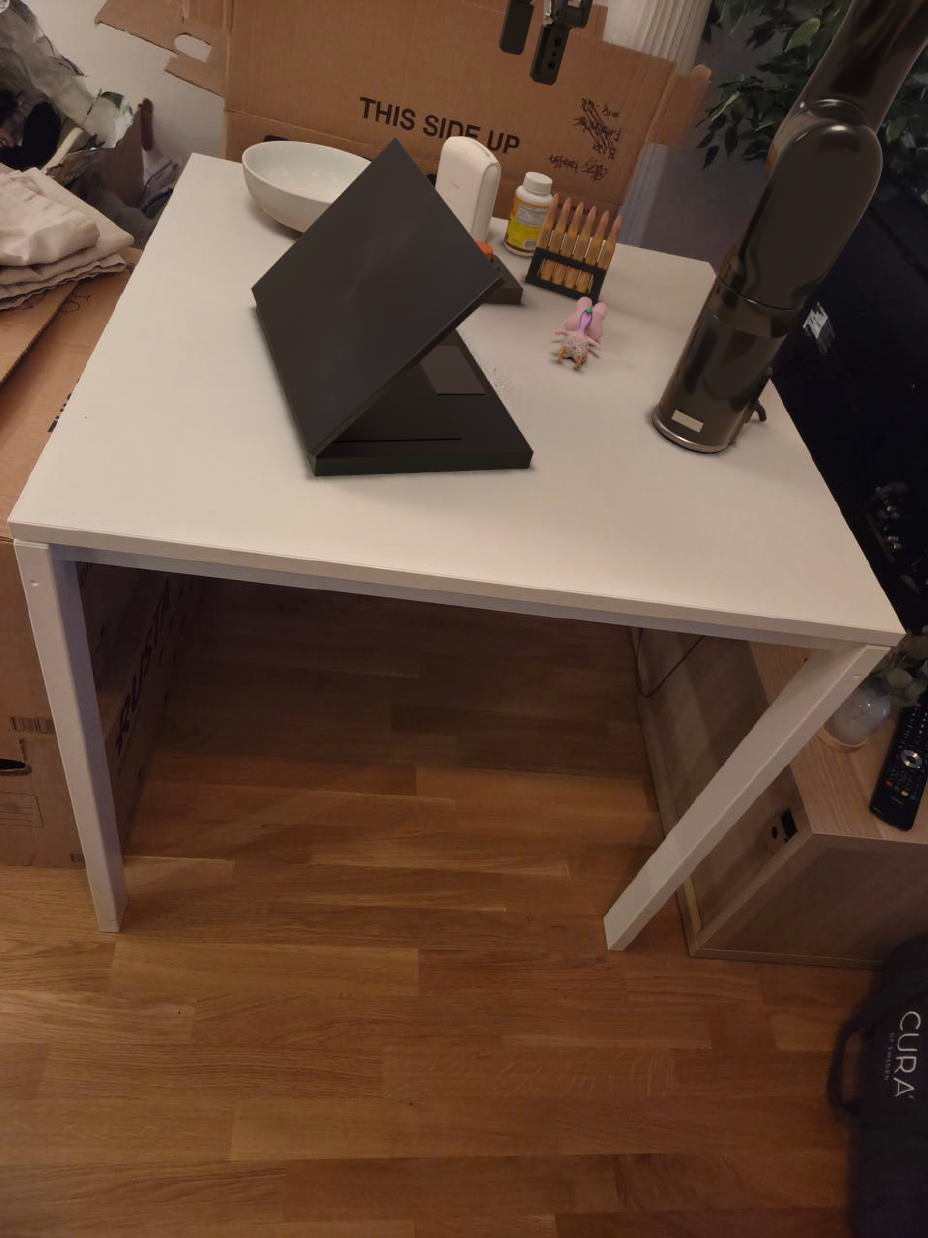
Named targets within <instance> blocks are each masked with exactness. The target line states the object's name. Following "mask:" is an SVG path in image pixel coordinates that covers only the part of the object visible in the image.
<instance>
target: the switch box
mask: <svg viewBox="0 0 928 1238" xmlns="http://www.w3.org/2000/svg"><path fill="white" fill-rule="evenodd" d="M491 263H492V264H493V266H494V267H495V268H496V269H497V271H498V272H499V273H500V275H501V276H502V277H503V279H504V280H505V282H506V283H505V284H504V285H503V286H501V287H500V288H499V289H498V290H497V291H496V292H495V293H494V294H493V295H492V296H491V297H490V298H488V299H487V300H486V301H485V302H484V303H483V304H495V305H496V304H497V305H514V306H515V305H517V306H520V305H521V300H522V297H523V294H524V287H523V286H522V285H521V284H520V282H519V281H518V280H517V279H516V278H515V276H514V275H513V273H511V271H510V270H509V269H508V267H507V266H506V264H505V263H504V262H503V261H502V259H501V258H500V257H499V256H498V255H496V254H495V253H493V254H492V258H491Z"/></svg>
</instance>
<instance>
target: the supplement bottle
mask: <svg viewBox="0 0 928 1238" xmlns="http://www.w3.org/2000/svg"><path fill="white" fill-rule="evenodd" d="M552 185H553V179H552V178H551V177H550V176H548V175H546V174H543V173H540V172H536V171H528V172H526V173H525V176H524V179H523V183H522V185H520V186H518V187H517V188H516V190H515V193H514V196H513V202H512V205H511V210H510V213H509V217H508V221H507V226H506V230H505V234H504V239H503V245H504V247H505V248H506V249H507V251H509V252H511V253H512V254H515V255H517V256H521V257H533V254H534V250H535V247H536V243H537V240H538V236H539V233H540V229H541V226H542V224H543V222H544V219H545V216H546V214H547V211H548V208H549V205H550V203H551V200H552V199H553V197H554V196H553V195H552V194H551V189H552Z"/></svg>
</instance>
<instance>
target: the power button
mask: <svg viewBox="0 0 928 1238" xmlns="http://www.w3.org/2000/svg"><path fill="white" fill-rule="evenodd" d="M475 242H476V243H477V244H478V246H479V247H480V248H481V250H482V251H483V252H484V254H485V255H486V256H487V258H488V259H489V260H490V262H491V258H492V254H494V248H493V247H492V246H491V245H490V244H488V243H487V242H485V243H483V242H480V241H475Z"/></svg>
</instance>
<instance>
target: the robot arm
mask: <svg viewBox="0 0 928 1238" xmlns="http://www.w3.org/2000/svg"><path fill="white" fill-rule="evenodd" d="M535 2H536V0H508V1H507V4H506V9H505V13H504V17H503V23H502V26H501V27H502V28H501V31H500V37H499V39H498V47H499V49H500V50H501V51H502V52H503V53H505V54H509V55H514V56H521V55H522V54H523V52H524V51H525V46H526V43H527V39H528V34H529V30H530V26H531V22H532V18H533V14H534V10H535V5H534V4H532V3H535ZM593 2H594V0H580V1H579V0H543V13H542V15H543V16H542V24H540V25H541V26H540V30H539V33H538V38H537V41H536V45H535V49H534V54H533V57H532V61H531V65H530V68H529V77H530V79H531V80H532V81H533V82H535V83H538V84H543V85H546V86H553V85H554V84H555V83H556V82H557V78H558V76H559V73H560V68H561V64H562V61H563V57H564V53H565V51H566V47H567V43H568V39H569V35H570V33H574V32H575V30H576V29H577V28H578V29H582V30H584V29H585V28H586V27H587V24H588V21H589V18H590V14H591V11H592V6H593ZM927 45H928V0H852V1H851V3H850V6H849V8H848V10H847V12H846V14H845V15H844V19H843V20H842V22H841V24H840V26H839V28H838V30H837V32H836V33H835V35H834V37H833V39H832V41H831V43H830V44H829V45H828V48H827V50H826V51H825V53H824V55H822V58H820V61H819V63H818V64H817V66H816V68H815V70H814V71H813V73H812V74H811V76H810V78H809V79H808V81H807V82H806V84H805V86H804V87H803V88H802V91H801V92H800V94H799V95H798V97H797V99H796V100H795V102H794V103H793V105H792V107H791V108H790V110H789V111H788V113H787V115H786V116H785V118H784V119H783V121H782V123H781V124H780V126H779V127H778V129H777V130H776V133H775V135H774V137H773V138H772V141H771V143H770V146H769V148H768V152H767V156H766V159H765V179H766V183H765V184H764V186H763V189H762V191H761V193H760V196H759V197H758V200H757V202H756V204H755V205H754V209H753V210H752V212H751V215H750V217H749V218H748V221H747V223H746V225H745V226H744V229H743V231H742V233H741V235H740V236H739V238H738V239H737V241H736V242H734V243H733V244H732V245H731V246H730V247H729V249H728V250H727V252H726V254H725V256H724V258H723V260H722V263H721V265H720V267H719V269H718V271H717V274H716V276H715V278H714V280H713V282H712V284H711V287H710V289H709V291H708V293H707V295H706V298H705V300H704V303H703V304H702V306H701V309H700V311H699V313H698V315H697V317H696V320H695V322H694V324H693V327H692V328H691V330H690V333H689V335H688V337H687V340H686V341H685V344H684V346H683V348H682V350H681V353H680V355H679V357H678V359H677V362H676V364H675V366H674V368H673V370H672V372H671V375H670V377H669V379H668V381H667V384H666V385H665V388H664V390H663V392H662V395H661V396H660V399H659V400H658V403H657V404H656V405H655V408H654V409H653V412H652V415H651V417H652V422H653V424H654V426H655V427H656V429H657V430H658V431H659V432H660V434H662V435H663V436H664V437H665V438H667V439H669V440H670V441H672V442H673V443H675V444H677V445H679V446H682V447H683V448H687V449H689V450H692V451H695V452H696V451H697V452H702V453H716V452H720V451H722V450H724V449H725V448H726V447H727V446H728V445H729V444H735V442H736V440H737V438H738V436H739V435H740V433H741V431H742V430H743V428H744V426H745V424H749V422H750V420H751V419H752V417H753V415H754V413H755V412H756V413H757V415H758V417H757V418H758V420H759V422H761V423H765V422H766V421H767V420H768V418H767V412H766V409H765V408H764V407H763V405H762V404H761V403H760V402H761V401H760V400H759V398H760V397H761V395H762V394H763V393H764V390H765V388H766V386H767V384H768V383H769V381H770V379H771V378H772V375H773V369H772V367H770V366H771V365H772V363H773V361H774V359H775V357H776V355H777V353H778V352H779V350H780V348H781V347H782V345H783V342H784V341H785V339H786V337H787V335H788V333H789V331H790V329H791V328H792V326H793V324H794V323H795V320H796V319H797V317H798V315H799V314H800V311H801V310H802V308H803V306H804V305H805V303H806V301H807V299H808V298H809V296H810V294H811V293H812V292H813V290H814V289H815V288H817V287H818V286H819V285H820V284H821V282H823V280H824V279H825V278H826V277H827V275H828V274H829V273H830V270H831V269H832V267H833V266H834V264H835V262H836V261H837V259H838V257H839V256H840V254H841V252H842V251H843V249H844V247H845V246H846V244H847V243H848V241H849V240H850V237H851V236H852V234H853V232H854V230H855V229H856V228H857V226H858V224H859V222H860V221H861V218H862V217H863V215H864V213H865V211H866V209H868V206H869V204H870V202H871V200H872V198H873V196H874V194H875V191H876V189H877V187H878V185H879V181H880V178H881V175H882V171H883V161H884V160H883V151H882V147H881V142H880V141H879V139H878V136H877V134H878V132H879V129H880V128H881V125H882V124H883V121H884V119H885V117H886V115H887V113H888V111H889V109H890V107H891V106H892V104H893V101H894V99H895V98H896V95H897V94H898V92H899V90H900V88H901V86H902V84H903V83H904V81H905V79H906V77H907V75H908V73H910V70H911V69H912V67H913V65H914V63H915V62H916V60H917V59H918V57H919V56H920V54H921V53H922V52H923V50H924V49H925V47H926V46H927Z"/></svg>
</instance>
